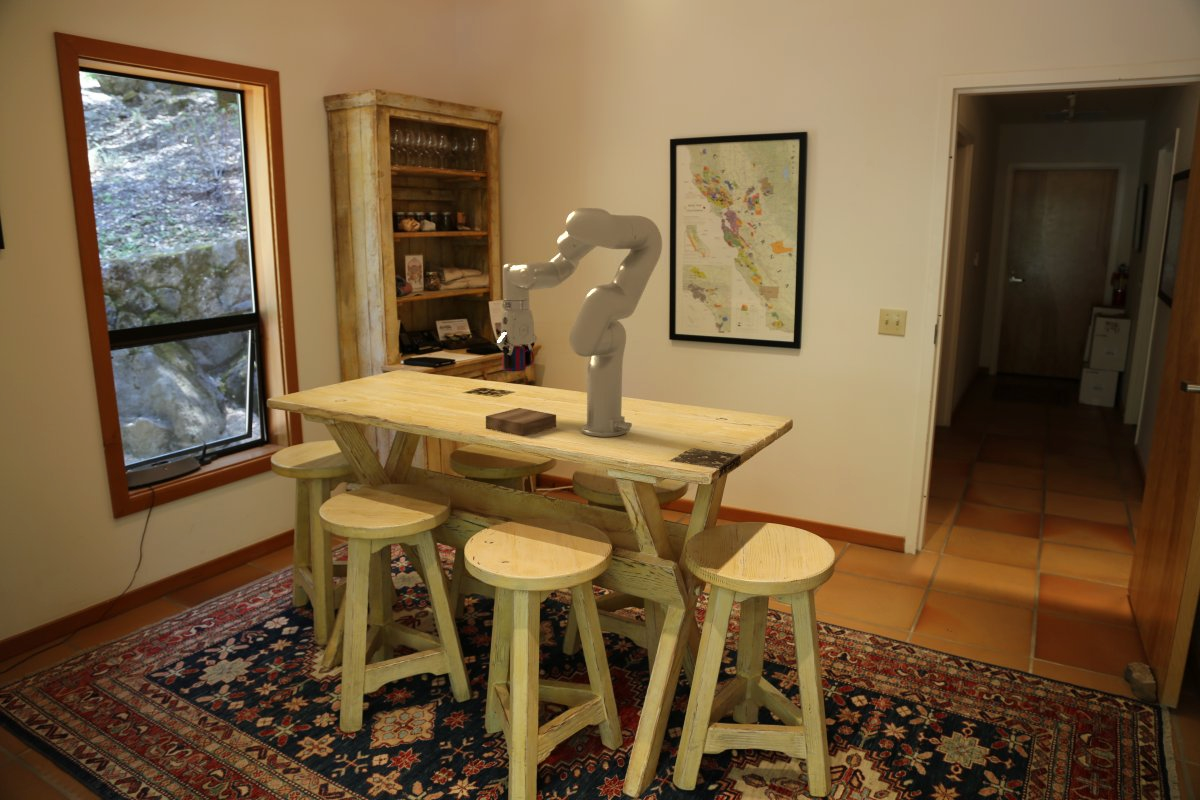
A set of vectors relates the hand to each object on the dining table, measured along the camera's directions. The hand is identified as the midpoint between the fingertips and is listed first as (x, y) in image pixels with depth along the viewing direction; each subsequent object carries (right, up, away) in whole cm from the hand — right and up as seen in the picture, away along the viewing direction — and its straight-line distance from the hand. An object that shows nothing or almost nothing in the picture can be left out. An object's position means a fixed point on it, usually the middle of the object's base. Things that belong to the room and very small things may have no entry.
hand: (517, 366), depth 249 cm
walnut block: (+2, -18, -11) cm, 21 cm away
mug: (0, -1, 0) cm, 2 cm away
